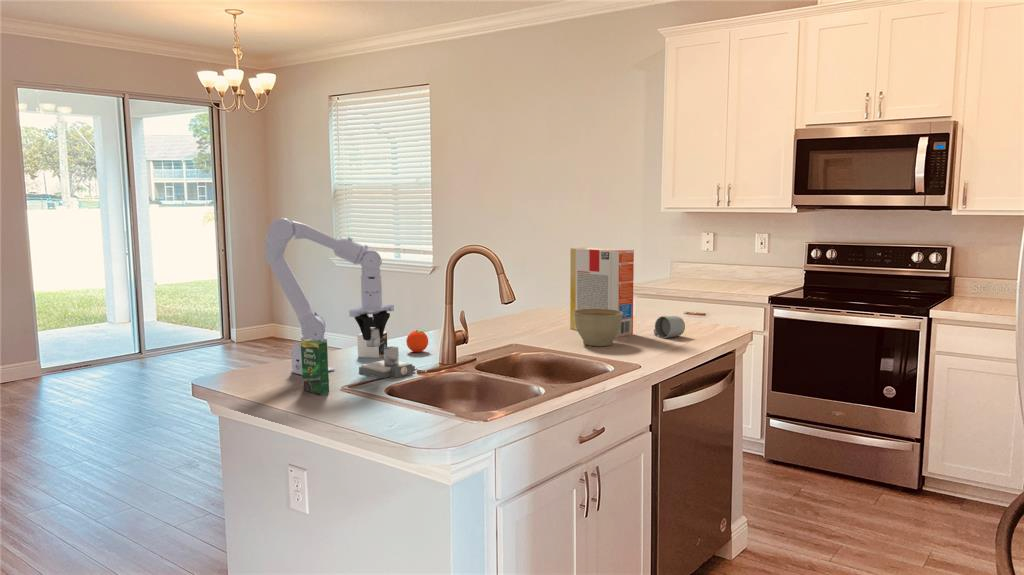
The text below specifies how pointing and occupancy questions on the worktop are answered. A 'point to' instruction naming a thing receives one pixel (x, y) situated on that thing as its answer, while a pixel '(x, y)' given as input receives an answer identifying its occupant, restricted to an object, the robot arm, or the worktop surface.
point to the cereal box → (602, 283)
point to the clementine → (417, 341)
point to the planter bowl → (598, 325)
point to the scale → (387, 369)
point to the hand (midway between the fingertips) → (373, 338)
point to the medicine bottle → (371, 351)
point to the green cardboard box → (315, 366)
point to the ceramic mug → (669, 326)
